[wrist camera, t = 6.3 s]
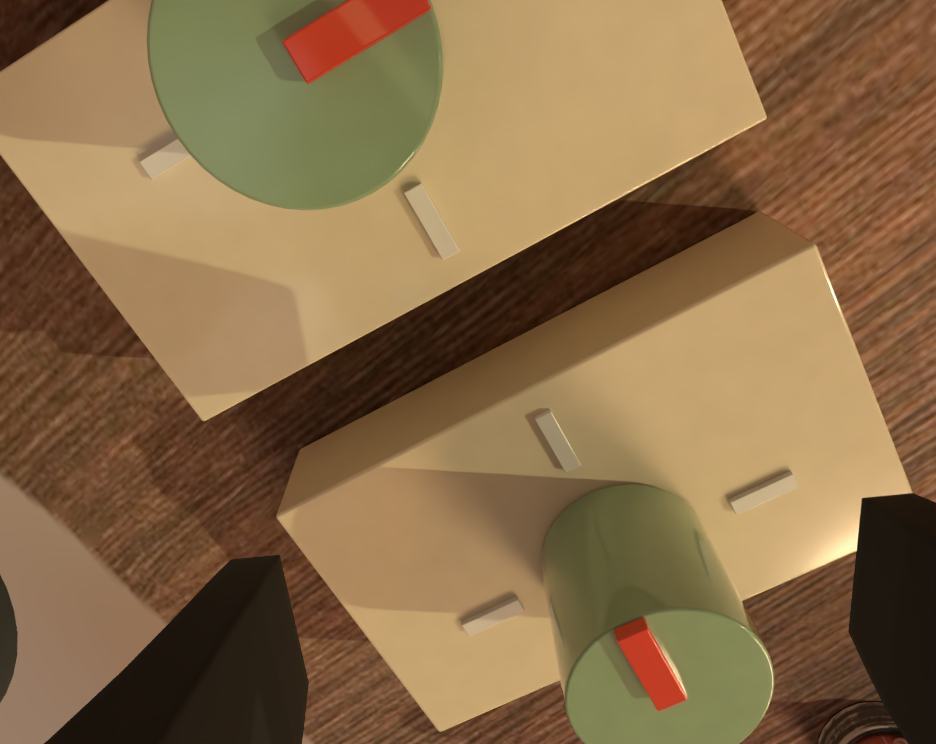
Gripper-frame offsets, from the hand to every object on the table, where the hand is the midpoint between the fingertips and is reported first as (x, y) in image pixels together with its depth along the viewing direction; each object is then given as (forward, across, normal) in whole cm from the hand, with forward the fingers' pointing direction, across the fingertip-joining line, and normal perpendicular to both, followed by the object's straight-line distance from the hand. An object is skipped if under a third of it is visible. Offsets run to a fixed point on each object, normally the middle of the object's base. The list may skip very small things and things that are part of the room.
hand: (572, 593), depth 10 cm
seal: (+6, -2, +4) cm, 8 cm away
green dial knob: (+6, +3, -6) cm, 9 cm away
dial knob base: (+9, -1, +3) cm, 10 cm away
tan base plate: (+9, +2, -6) cm, 11 cm away
